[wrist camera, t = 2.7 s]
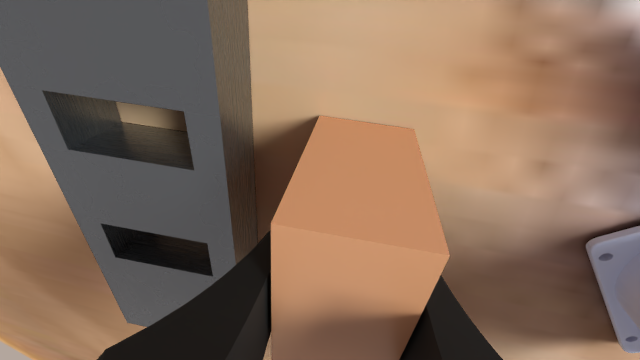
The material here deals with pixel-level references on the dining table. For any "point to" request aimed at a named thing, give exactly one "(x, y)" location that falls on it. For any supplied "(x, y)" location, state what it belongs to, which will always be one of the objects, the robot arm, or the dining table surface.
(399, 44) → the dining table surface
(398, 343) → the tan orange block
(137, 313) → the slate rail
